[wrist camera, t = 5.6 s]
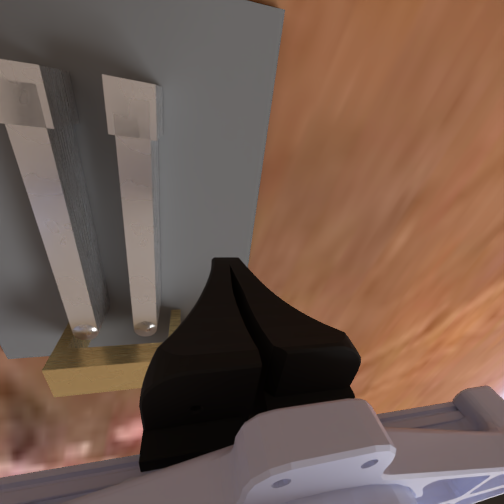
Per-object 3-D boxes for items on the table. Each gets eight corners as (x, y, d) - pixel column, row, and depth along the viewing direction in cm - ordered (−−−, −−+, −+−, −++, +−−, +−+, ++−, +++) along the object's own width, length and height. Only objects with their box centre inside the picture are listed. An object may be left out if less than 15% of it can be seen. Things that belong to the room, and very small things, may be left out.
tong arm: (137, 309, 21) (130, 337, 19) (118, 78, 13) (101, 73, 11) (164, 308, 22) (161, 335, 19) (162, 87, 14) (155, 84, 11)
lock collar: (81, 339, 22) (54, 397, 18) (73, 313, 20) (41, 370, 16) (181, 332, 24) (178, 383, 20) (180, 309, 22) (177, 359, 18)
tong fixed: (85, 311, 21) (70, 341, 18) (18, 63, 12) (-27, 54, 10) (115, 310, 21) (104, 339, 19) (69, 71, 13) (38, 64, 10)
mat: (12, 353, 22) (7, 358, 22) (-234, -114, 9) (-259, -127, 9) (236, 337, 27) (236, 342, 26) (281, 13, 14) (285, 9, 13)
